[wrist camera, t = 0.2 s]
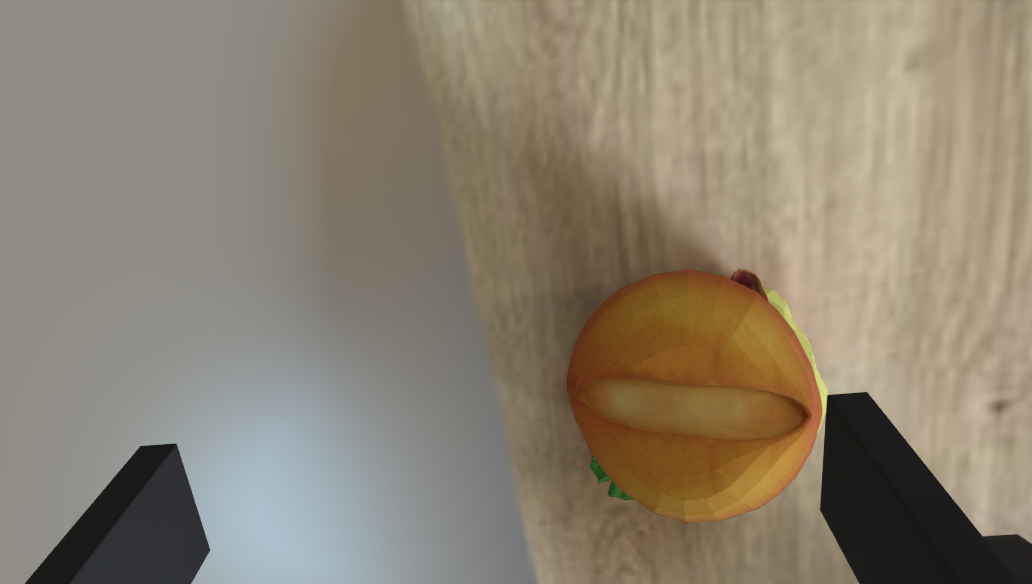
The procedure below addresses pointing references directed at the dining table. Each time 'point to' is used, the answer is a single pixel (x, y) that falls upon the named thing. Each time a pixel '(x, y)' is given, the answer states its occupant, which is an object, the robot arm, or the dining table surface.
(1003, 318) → the dining table surface
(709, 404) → the cheeseburger
